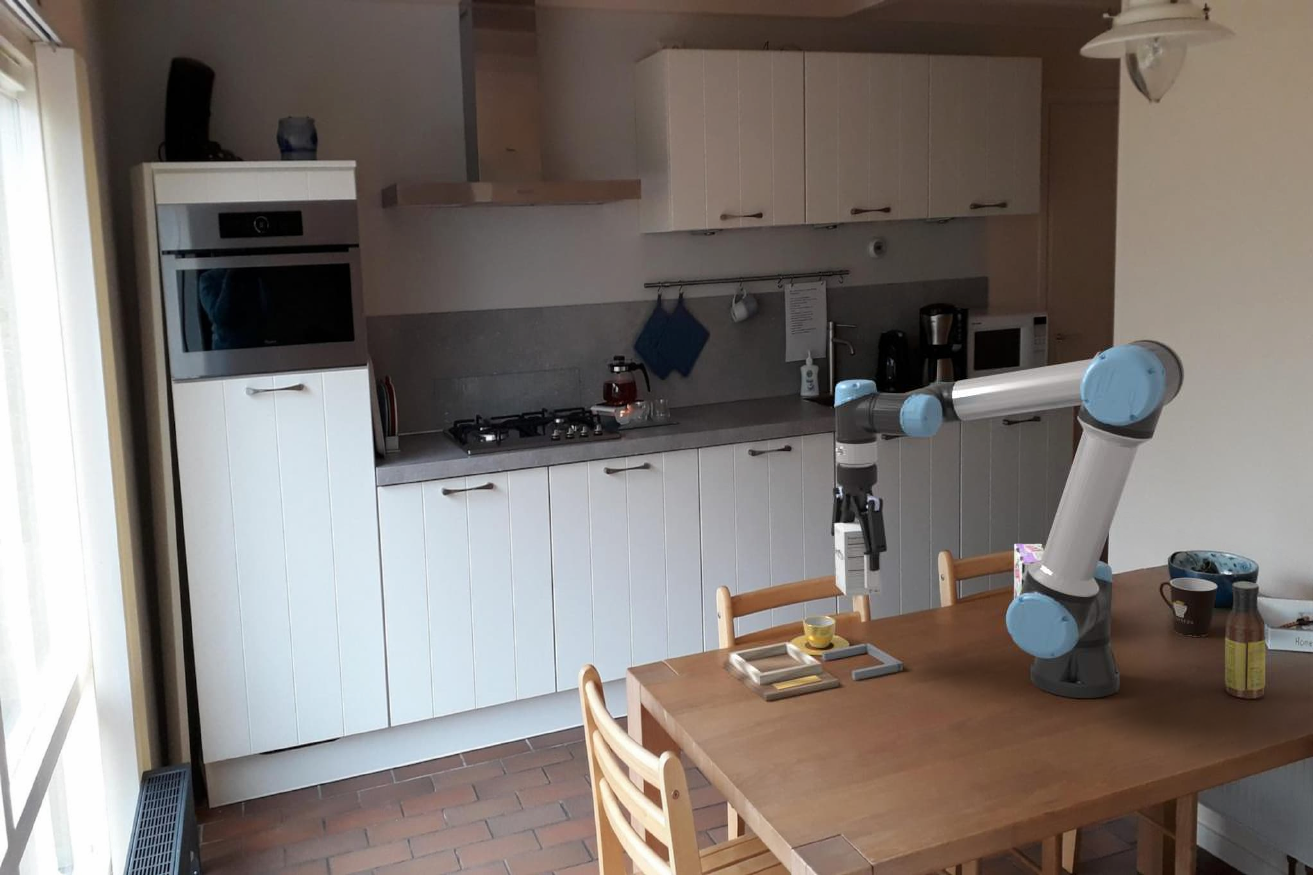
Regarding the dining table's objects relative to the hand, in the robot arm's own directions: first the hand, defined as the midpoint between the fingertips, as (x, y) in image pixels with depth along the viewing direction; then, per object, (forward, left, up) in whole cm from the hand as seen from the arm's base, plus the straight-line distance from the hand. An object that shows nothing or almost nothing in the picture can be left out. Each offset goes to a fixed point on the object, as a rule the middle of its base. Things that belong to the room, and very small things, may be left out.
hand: (858, 580), depth 214 cm
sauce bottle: (-42, -52, -17) cm, 69 cm away
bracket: (0, 0, -17) cm, 17 cm away
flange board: (+2, +16, -17) cm, 24 cm away
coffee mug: (-14, -69, -17) cm, 72 cm away
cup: (+13, +1, -18) cm, 22 cm away
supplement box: (0, 0, -2) cm, 2 cm away
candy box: (+1, -42, -17) cm, 45 cm away
